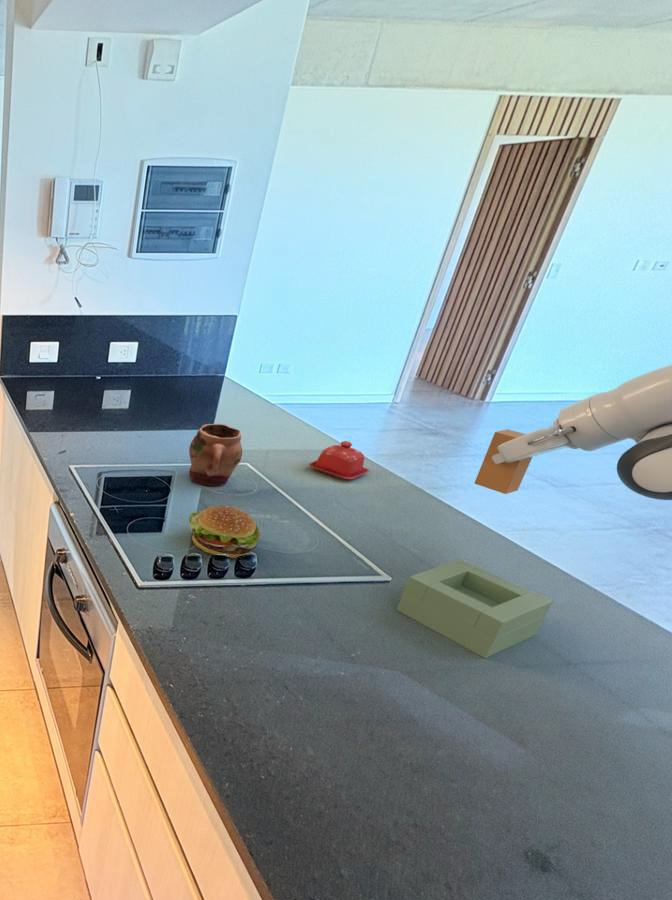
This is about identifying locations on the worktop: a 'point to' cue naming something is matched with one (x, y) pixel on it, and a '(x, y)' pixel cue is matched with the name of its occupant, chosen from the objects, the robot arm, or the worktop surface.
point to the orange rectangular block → (502, 466)
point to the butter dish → (341, 461)
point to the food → (224, 531)
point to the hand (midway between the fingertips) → (503, 457)
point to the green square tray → (473, 607)
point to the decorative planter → (214, 454)
